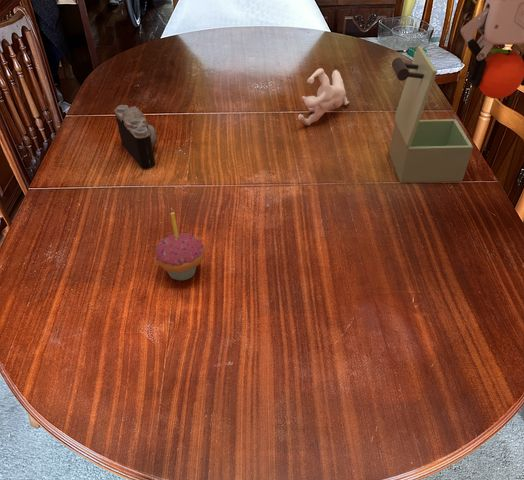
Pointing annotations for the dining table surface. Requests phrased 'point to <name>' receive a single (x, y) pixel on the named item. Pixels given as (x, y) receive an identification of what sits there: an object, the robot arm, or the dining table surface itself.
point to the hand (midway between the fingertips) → (497, 82)
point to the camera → (136, 135)
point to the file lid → (413, 91)
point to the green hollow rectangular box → (431, 152)
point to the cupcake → (179, 253)
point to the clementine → (502, 73)
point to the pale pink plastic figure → (324, 96)
